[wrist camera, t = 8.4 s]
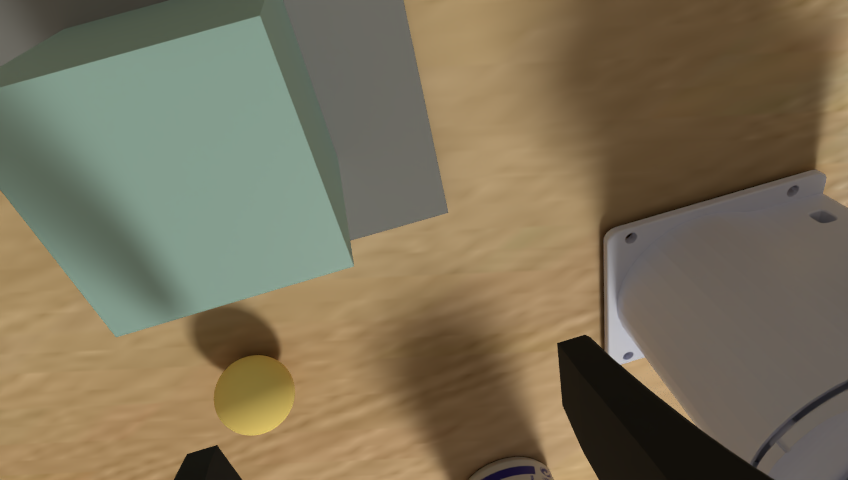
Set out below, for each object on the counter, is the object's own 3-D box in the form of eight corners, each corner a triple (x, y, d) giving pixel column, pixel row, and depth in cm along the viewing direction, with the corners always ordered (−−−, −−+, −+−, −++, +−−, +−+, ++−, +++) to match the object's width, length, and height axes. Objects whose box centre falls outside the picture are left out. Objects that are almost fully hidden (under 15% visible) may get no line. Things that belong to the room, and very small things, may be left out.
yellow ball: (279, 330, 21) (277, 388, 19) (304, 379, 23) (305, 438, 20) (206, 352, 21) (194, 412, 19) (236, 399, 23) (229, 461, 20)
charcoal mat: (355, -213, 13) (357, -217, 12) (445, 205, 20) (448, 212, 19) (-152, -89, 12) (-168, -89, 12) (122, 297, 19) (118, 306, 19)
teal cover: (273, -29, 14) (260, 16, 9) (337, 159, 17) (353, 266, 12) (63, 28, 14) (-66, 106, 9) (168, 208, 17) (116, 337, 12)
